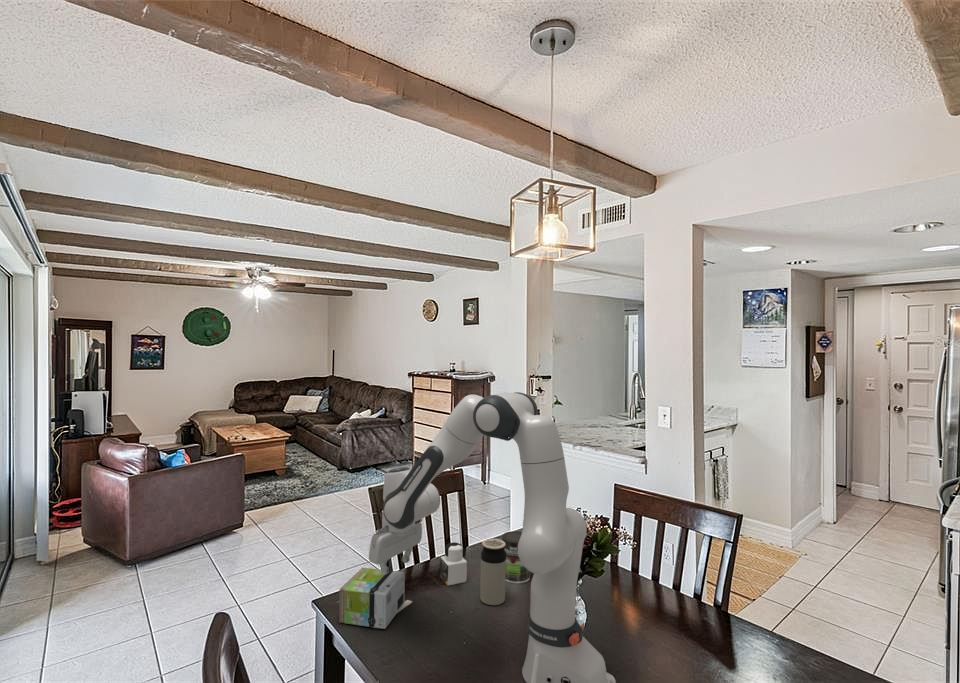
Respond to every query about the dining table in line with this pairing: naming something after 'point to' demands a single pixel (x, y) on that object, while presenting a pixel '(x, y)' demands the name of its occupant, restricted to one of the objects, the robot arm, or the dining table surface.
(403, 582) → the tea box
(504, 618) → the dining table surface
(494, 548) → the travel mug
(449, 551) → the medicine bottle
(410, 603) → the strip
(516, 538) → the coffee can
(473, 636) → the dining table surface
